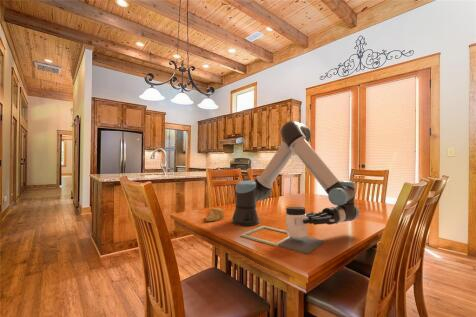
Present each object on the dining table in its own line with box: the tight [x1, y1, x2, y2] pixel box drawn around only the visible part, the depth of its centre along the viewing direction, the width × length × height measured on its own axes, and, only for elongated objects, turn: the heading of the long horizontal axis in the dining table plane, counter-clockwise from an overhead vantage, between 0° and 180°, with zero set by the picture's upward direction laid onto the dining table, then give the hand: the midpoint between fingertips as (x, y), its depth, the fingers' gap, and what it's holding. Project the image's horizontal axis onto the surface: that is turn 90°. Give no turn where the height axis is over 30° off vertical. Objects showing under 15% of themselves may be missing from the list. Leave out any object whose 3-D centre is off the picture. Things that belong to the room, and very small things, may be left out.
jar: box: [285, 206, 309, 238], centre depth 101 cm, size 9×8×12 cm
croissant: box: [205, 206, 226, 222], centre depth 139 cm, size 21×10×8 cm, turn 159°
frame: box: [240, 225, 293, 248], centre depth 108 cm, size 19×19×1 cm
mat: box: [279, 236, 325, 255], centre depth 97 cm, size 12×18×1 cm, turn 141°
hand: (295, 221), depth 95 cm, fingers closed on jar
